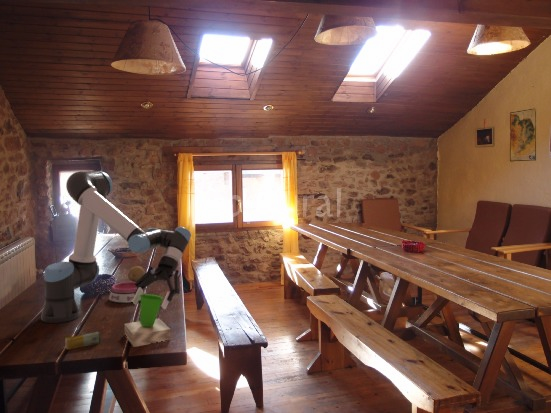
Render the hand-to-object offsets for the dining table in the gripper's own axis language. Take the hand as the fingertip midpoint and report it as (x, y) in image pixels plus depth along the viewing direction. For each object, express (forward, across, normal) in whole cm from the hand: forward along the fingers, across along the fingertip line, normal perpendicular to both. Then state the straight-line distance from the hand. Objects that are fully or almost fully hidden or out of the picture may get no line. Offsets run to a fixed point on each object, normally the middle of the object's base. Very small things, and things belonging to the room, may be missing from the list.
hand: (148, 305), depth 182 cm
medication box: (+21, +17, +2) cm, 27 cm away
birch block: (+10, 0, -9) cm, 13 cm away
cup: (+6, +1, -5) cm, 8 cm away
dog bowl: (-18, +40, -37) cm, 58 cm away
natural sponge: (-35, +54, -54) cm, 84 cm away
